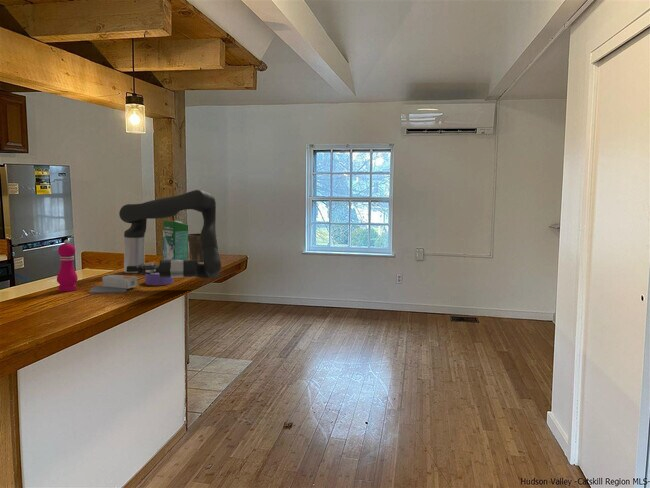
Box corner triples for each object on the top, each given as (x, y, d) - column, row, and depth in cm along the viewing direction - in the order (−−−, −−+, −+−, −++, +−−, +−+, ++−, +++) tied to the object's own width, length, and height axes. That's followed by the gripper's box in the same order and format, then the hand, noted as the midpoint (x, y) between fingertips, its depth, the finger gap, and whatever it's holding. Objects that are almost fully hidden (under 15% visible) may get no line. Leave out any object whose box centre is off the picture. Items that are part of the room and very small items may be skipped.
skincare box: (128, 278, 189) (101, 276, 191) (128, 288, 189) (102, 286, 191) (137, 275, 195) (111, 274, 197) (137, 286, 195) (111, 284, 197)
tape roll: (142, 285, 201) (142, 273, 200) (148, 280, 212) (148, 269, 212) (171, 285, 203) (171, 274, 202) (175, 280, 214) (175, 269, 214)
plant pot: (222, 262, 270) (222, 235, 268) (201, 266, 256) (201, 236, 255) (202, 259, 279) (202, 232, 277) (180, 262, 265) (180, 234, 263)
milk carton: (188, 267, 249) (188, 220, 246) (174, 269, 241) (174, 221, 238) (176, 265, 253) (176, 219, 251) (162, 267, 246) (162, 220, 243)
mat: (94, 287, 193) (94, 285, 192) (128, 286, 196) (128, 285, 196) (88, 293, 181) (88, 291, 181) (125, 292, 185) (125, 291, 185)
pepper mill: (82, 289, 188) (81, 239, 186) (66, 292, 181) (65, 241, 179) (68, 287, 190) (67, 238, 188) (52, 290, 183) (51, 239, 181)
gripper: (172, 257, 201) (128, 257, 196) (171, 262, 188) (124, 262, 183) (172, 274, 201) (128, 275, 196) (171, 280, 189) (124, 281, 184)
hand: (126, 268), depth 190 cm, fingers closed
